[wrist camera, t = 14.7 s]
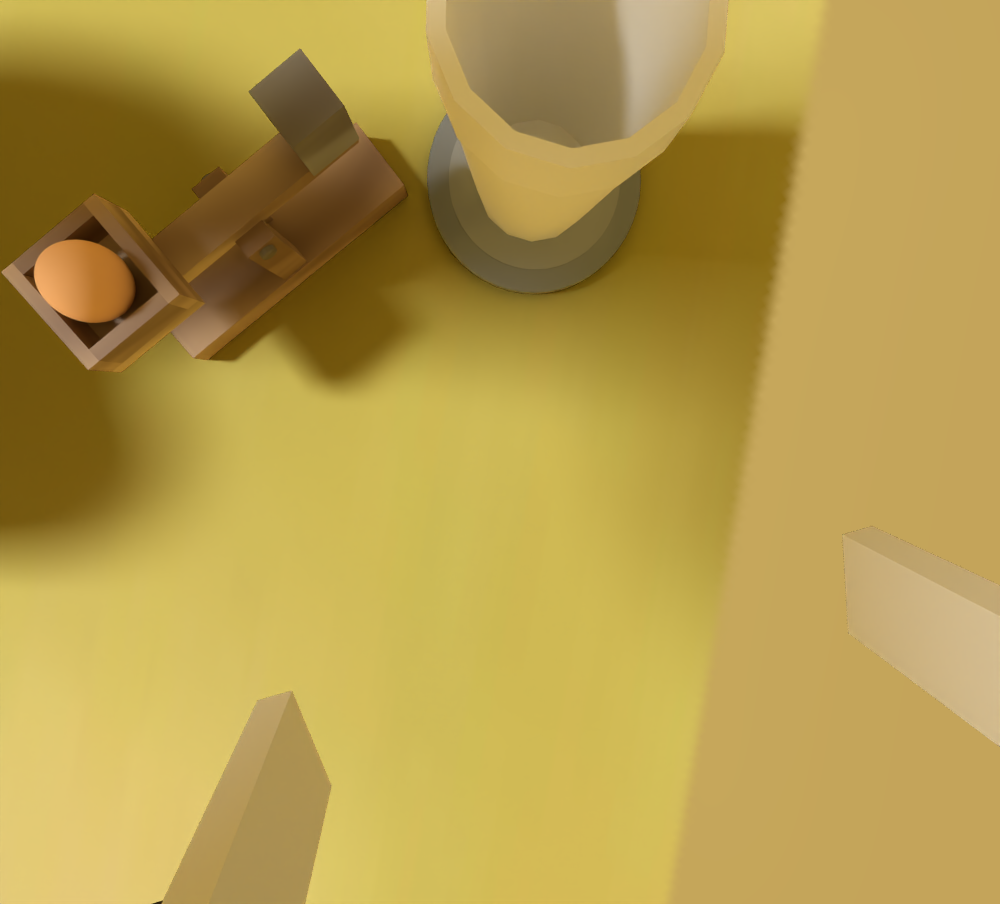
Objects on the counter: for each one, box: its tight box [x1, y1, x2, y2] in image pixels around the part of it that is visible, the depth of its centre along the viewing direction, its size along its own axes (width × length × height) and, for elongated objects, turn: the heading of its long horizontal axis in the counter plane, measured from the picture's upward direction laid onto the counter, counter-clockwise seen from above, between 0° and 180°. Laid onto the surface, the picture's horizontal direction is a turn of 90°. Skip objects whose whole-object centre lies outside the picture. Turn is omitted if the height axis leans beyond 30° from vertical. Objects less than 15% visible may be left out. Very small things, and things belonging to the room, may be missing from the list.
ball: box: [34, 240, 136, 323], centre depth 21 cm, size 3×3×3 cm
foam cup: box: [426, 0, 728, 242], centre depth 22 cm, size 10×9×13 cm
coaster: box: [427, 114, 641, 294], centre depth 29 cm, size 12×12×1 cm
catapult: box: [1, 49, 408, 372], centre depth 25 cm, size 5×16×9 cm, turn 128°
